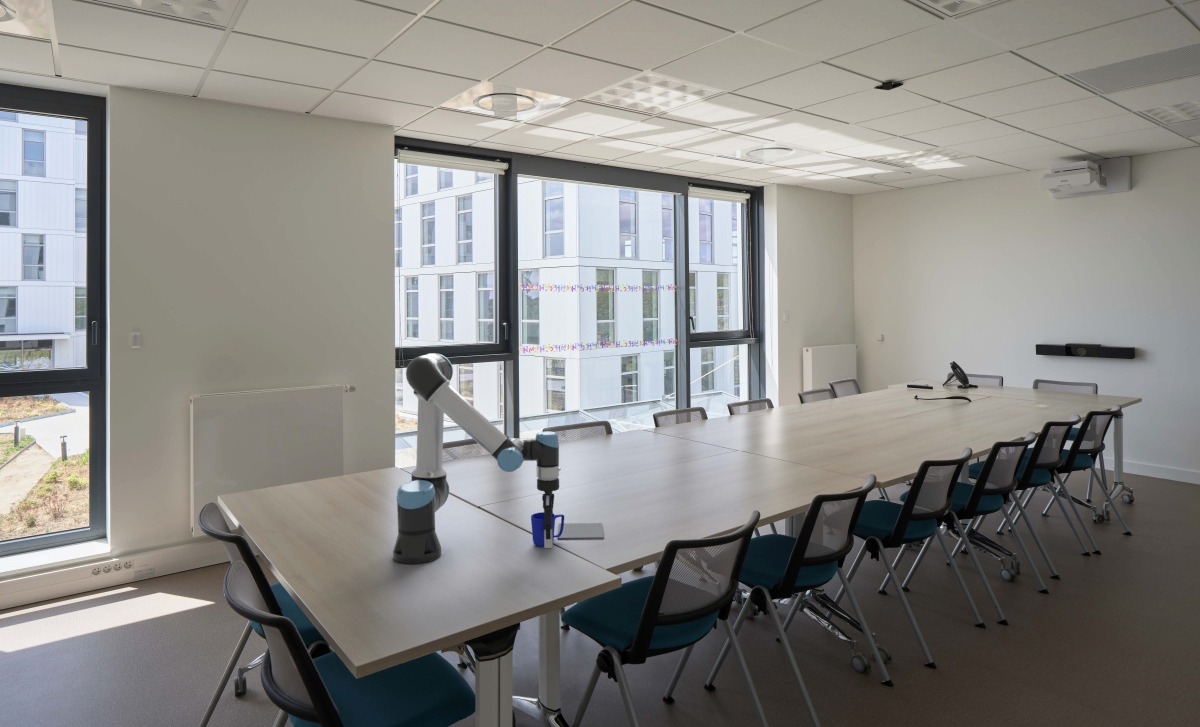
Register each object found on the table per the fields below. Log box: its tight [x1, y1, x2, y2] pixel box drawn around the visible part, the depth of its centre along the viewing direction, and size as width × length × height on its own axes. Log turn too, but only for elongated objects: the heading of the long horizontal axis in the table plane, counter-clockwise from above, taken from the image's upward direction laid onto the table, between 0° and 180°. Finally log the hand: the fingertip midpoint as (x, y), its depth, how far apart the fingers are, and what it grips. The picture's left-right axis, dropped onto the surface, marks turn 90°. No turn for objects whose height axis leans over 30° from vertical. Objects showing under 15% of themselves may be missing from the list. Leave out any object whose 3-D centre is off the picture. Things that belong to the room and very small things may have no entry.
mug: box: [530, 511, 565, 548], centre depth 238 cm, size 8×12×10 cm
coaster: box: [557, 522, 605, 541], centre depth 250 cm, size 16×16×1 cm
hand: (549, 542), depth 238 cm, fingers open, 9 cm apart
